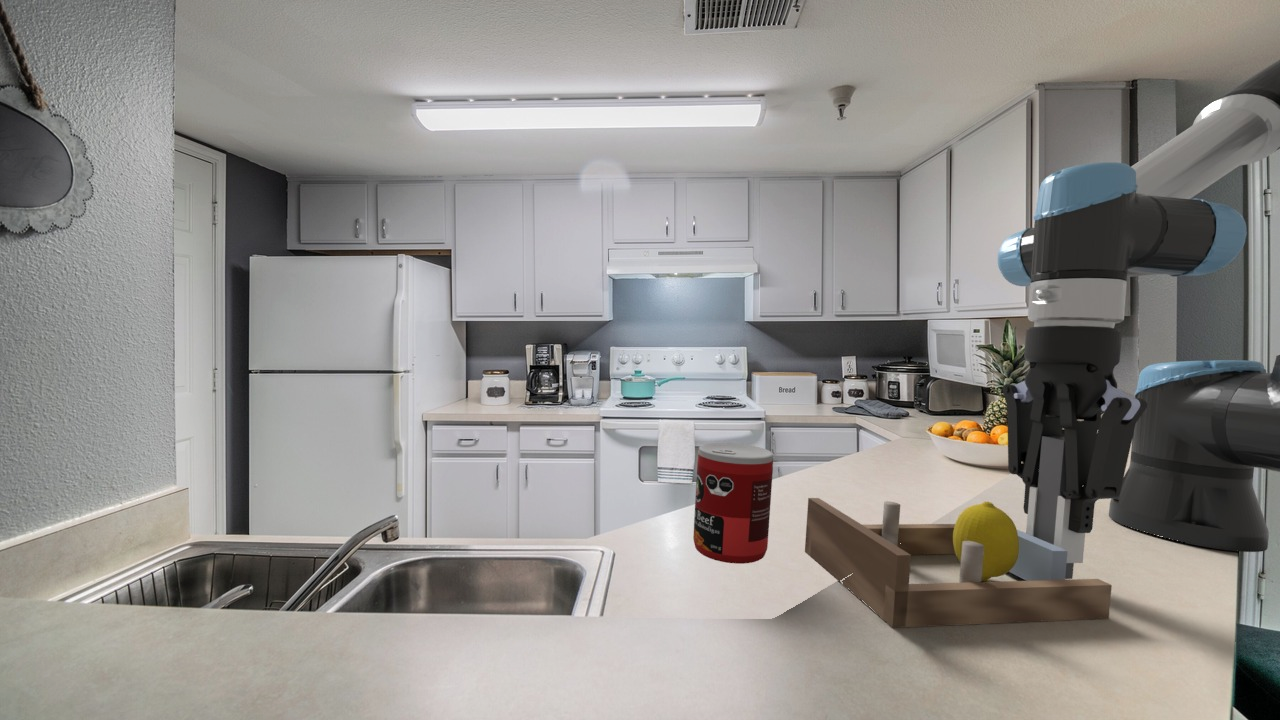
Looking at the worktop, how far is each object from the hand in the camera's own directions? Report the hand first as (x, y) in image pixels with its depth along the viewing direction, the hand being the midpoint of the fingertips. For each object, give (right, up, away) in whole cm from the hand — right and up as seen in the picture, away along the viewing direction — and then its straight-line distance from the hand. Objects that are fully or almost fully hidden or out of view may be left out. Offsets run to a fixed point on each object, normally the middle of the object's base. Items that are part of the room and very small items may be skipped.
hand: (1052, 554), depth 55 cm
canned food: (-33, -1, +3) cm, 33 cm away
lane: (-13, -2, -2) cm, 13 cm away
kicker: (-2, -2, 0) cm, 3 cm away
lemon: (-8, -2, -1) cm, 9 cm away
